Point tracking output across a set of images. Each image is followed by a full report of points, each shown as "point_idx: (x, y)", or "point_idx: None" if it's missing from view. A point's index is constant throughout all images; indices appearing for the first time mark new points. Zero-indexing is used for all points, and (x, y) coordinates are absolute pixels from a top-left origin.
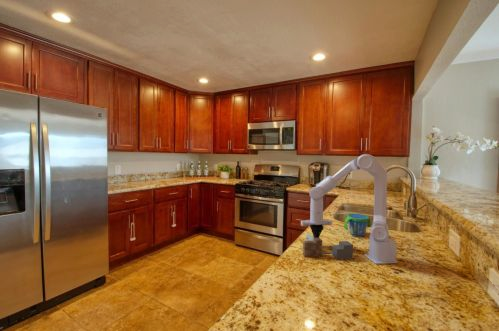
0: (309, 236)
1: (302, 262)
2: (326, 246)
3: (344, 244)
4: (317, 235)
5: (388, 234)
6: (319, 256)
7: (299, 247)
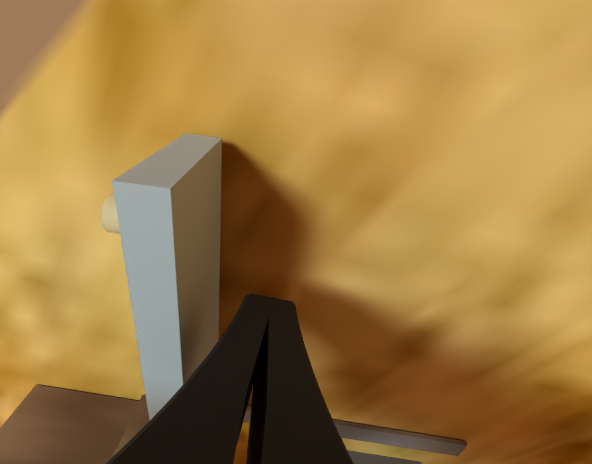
0: (137, 320)
1: None
2: (378, 327)
3: None
4: (249, 445)
5: None
6: None
7: (30, 263)
